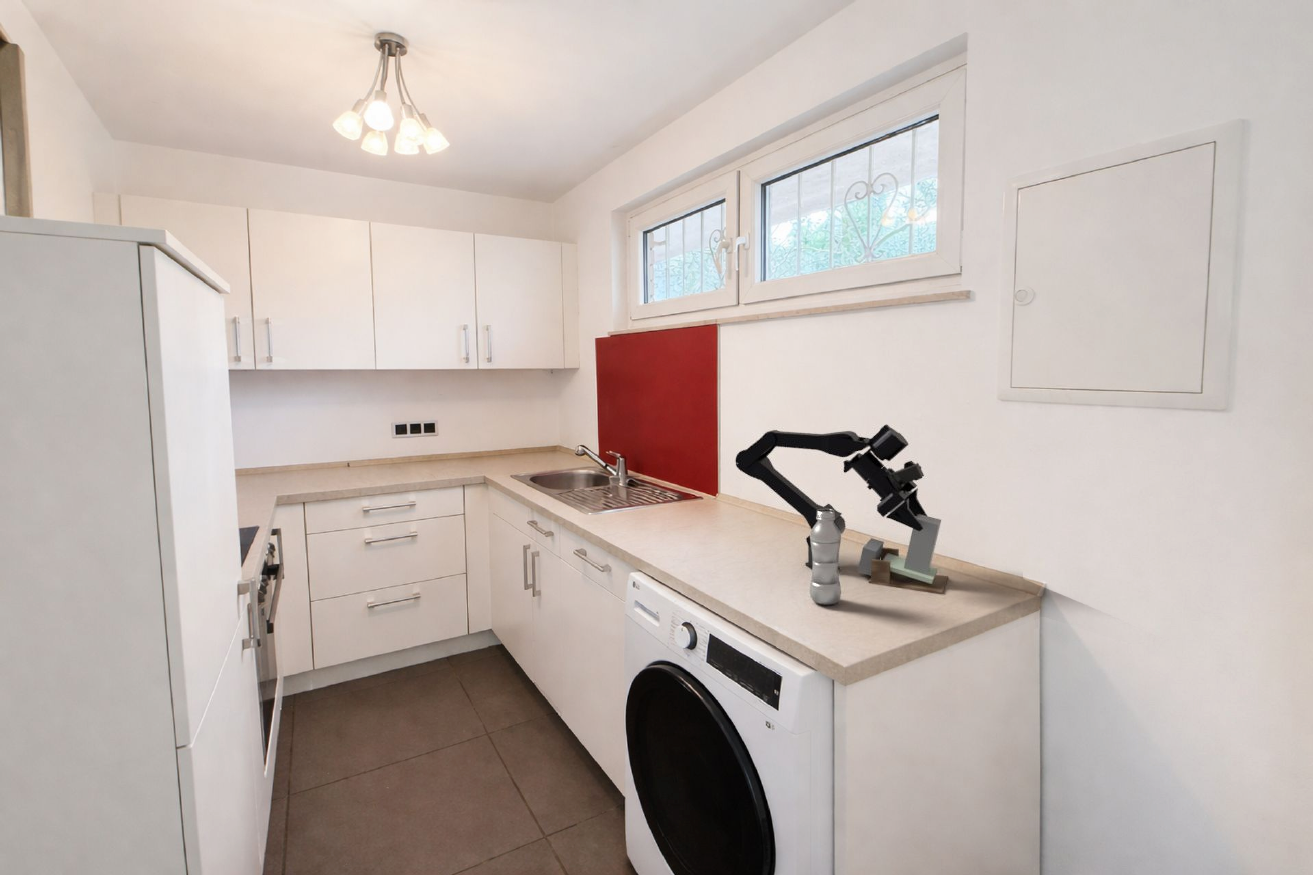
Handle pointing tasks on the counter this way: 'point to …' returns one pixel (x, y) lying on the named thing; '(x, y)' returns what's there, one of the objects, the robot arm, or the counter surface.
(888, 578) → the frame
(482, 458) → the counter surface
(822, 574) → the plastic bottle
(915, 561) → the grey rectangular block
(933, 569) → the trapdoor
